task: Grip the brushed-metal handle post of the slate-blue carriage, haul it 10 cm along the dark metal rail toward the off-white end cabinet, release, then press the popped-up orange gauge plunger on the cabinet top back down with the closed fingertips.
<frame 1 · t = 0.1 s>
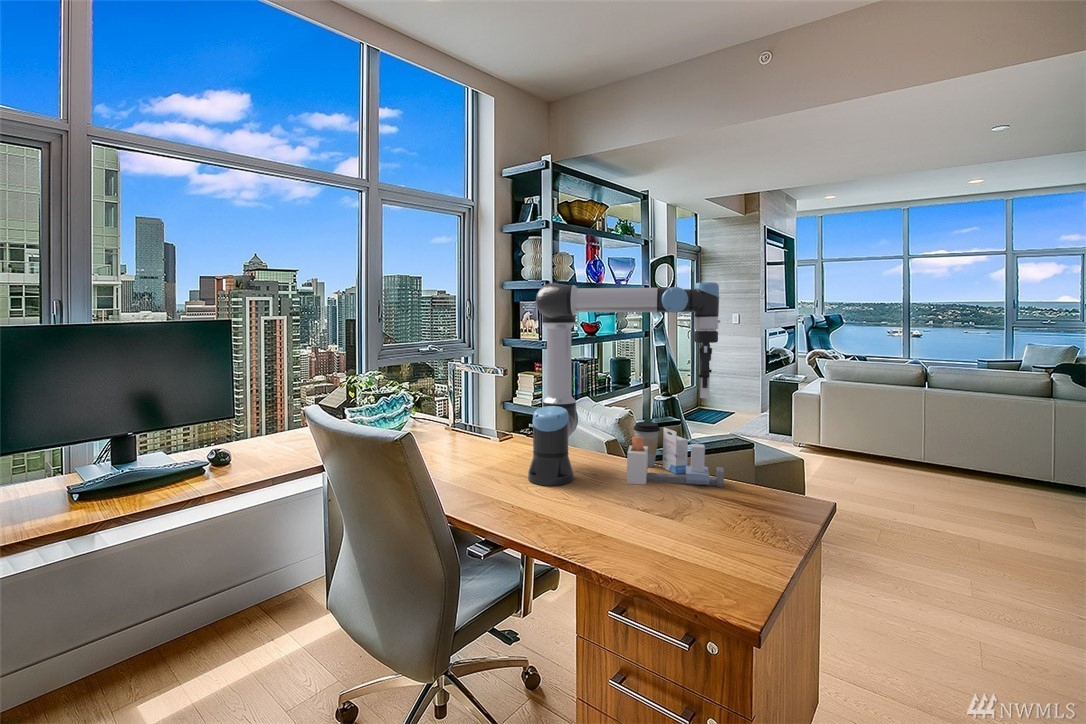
hand: (704, 394, 178), 28 cm above the table, fingers open, 13 cm apart
cabinet: (637, 479, 179), on the table
gauge plunger: (637, 443, 177), point 12 cm above the table, slide at 0.0 cm
coffee cup: (646, 465, 196), on the table
ink box: (674, 471, 188), on the table
carriage: (697, 463, 174), point 7 cm above the table, slide at 0.0 cm
rail: (681, 482, 175), on the table
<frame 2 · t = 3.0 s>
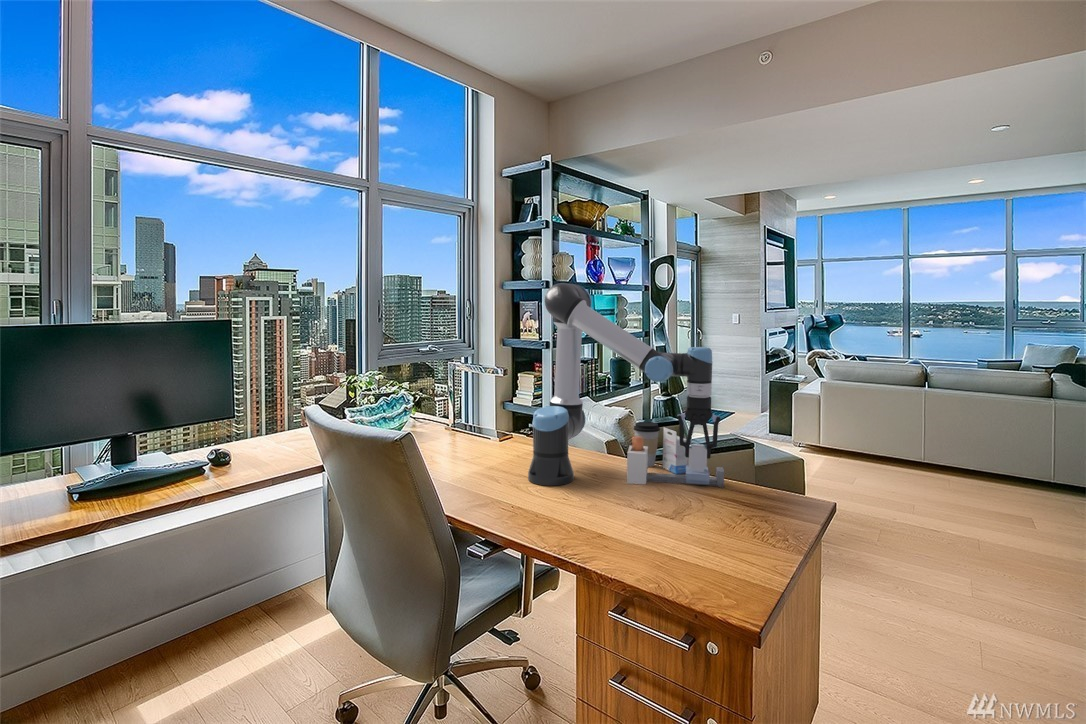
hand: (697, 467, 174), 5 cm above the table, fingers closed on carriage, 4 cm apart
carriage: (697, 463, 174), point 7 cm above the table, slide at 0.0 cm, touching gripper
everything else where it was.
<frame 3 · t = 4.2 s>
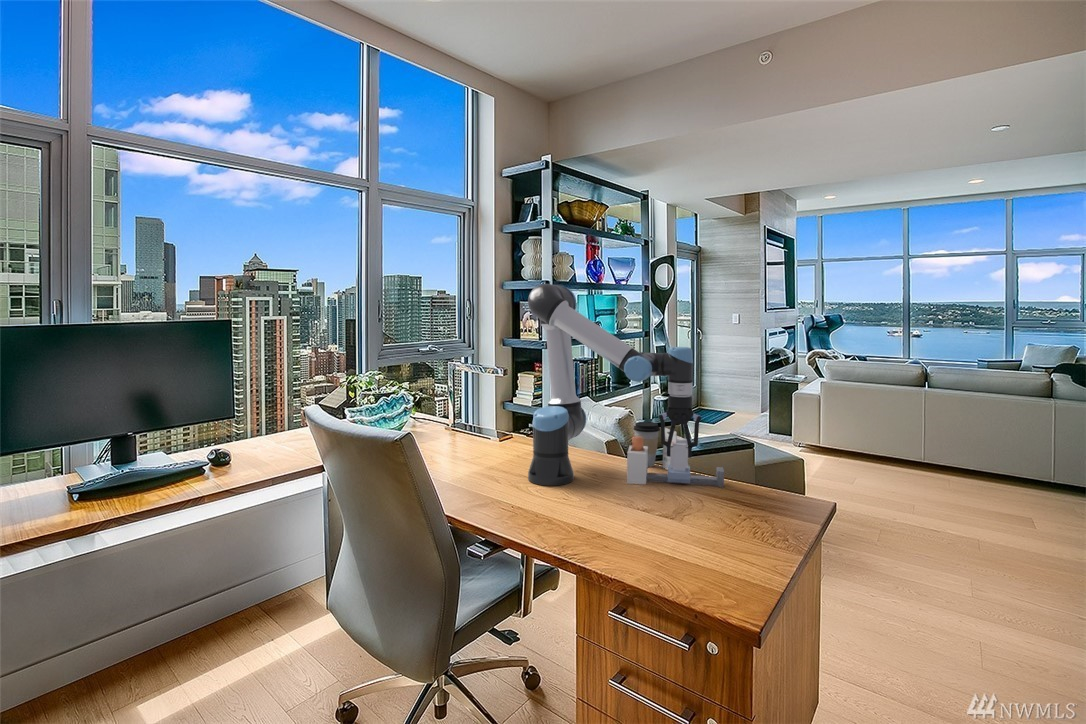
hand: (678, 466, 175), 5 cm above the table, fingers closed on carriage, 4 cm apart
carriage: (679, 462, 175), point 6 cm above the table, slide at 5.8 cm, touching gripper
everything else where it was.
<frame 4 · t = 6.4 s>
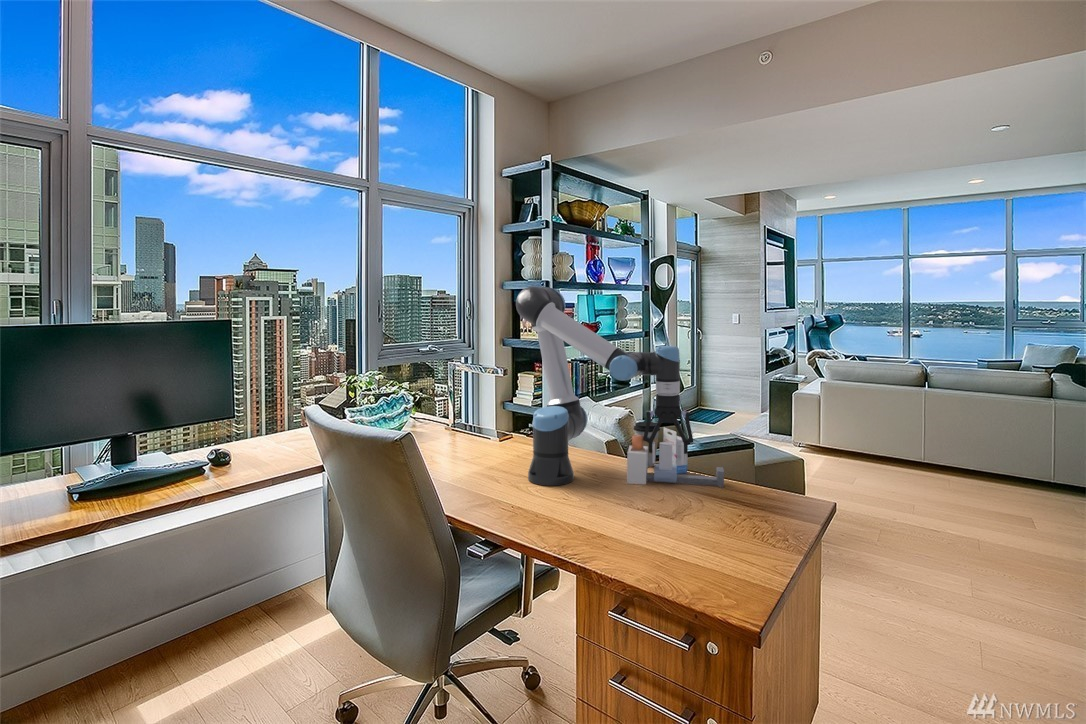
hand: (668, 462, 176), 6 cm above the table, fingers open, 8 cm apart
gauge plunger: (637, 442, 177), point 12 cm above the table, slide at -0.4 cm, touching gripper, hand
carriage: (665, 461, 176), point 7 cm above the table, slide at 10.0 cm
everything else where it was.
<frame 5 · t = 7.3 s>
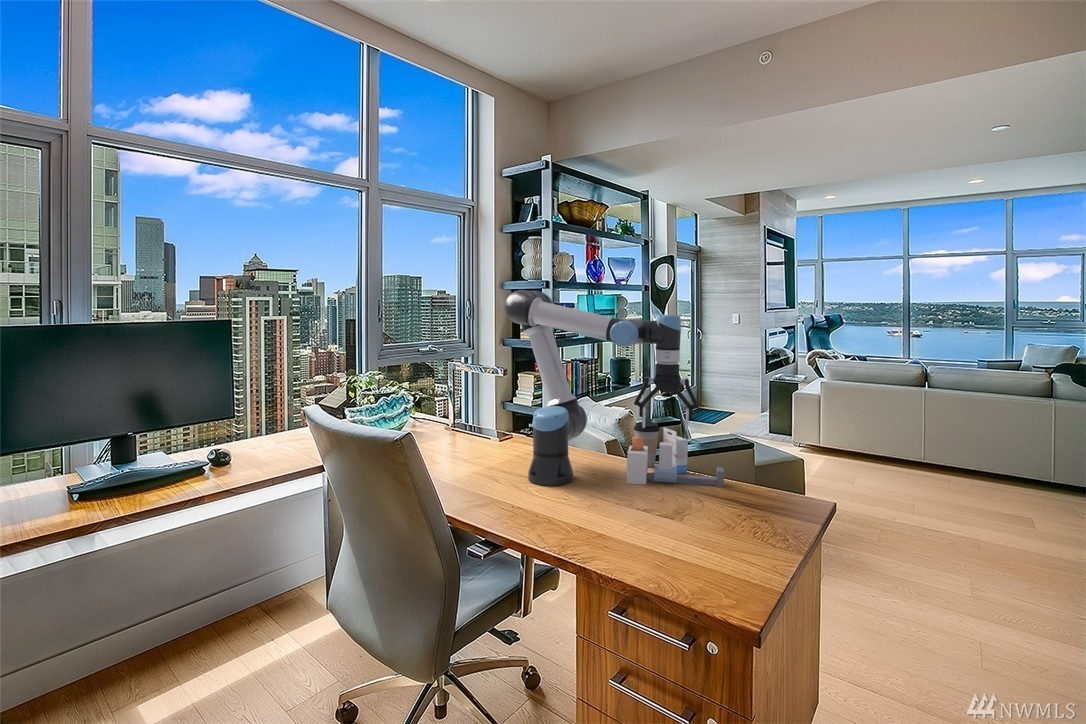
hand: (665, 428, 175), 17 cm above the table, fingers open, 13 cm apart
gauge plunger: (637, 443, 177), point 12 cm above the table, slide at -0.1 cm
everything else where it was.
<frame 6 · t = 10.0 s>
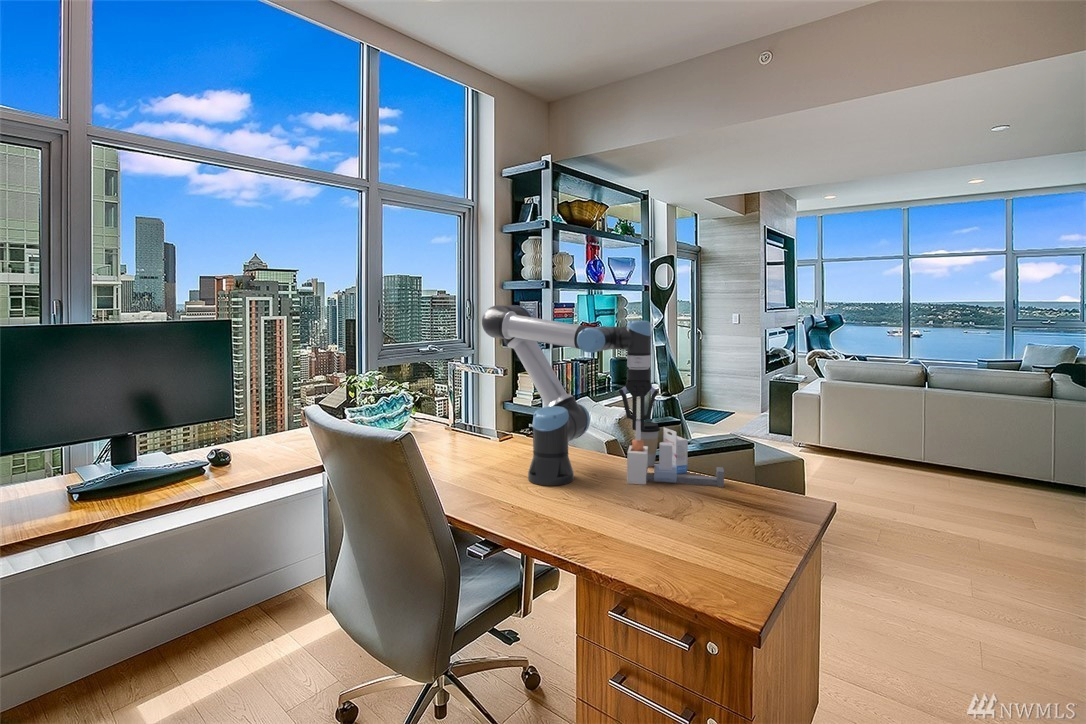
hand: (638, 439, 177), 13 cm above the table, fingers closed
gauge plunger: (637, 446, 178), point 11 cm above the table, slide at 0.9 cm, touching gripper
everything else where it was.
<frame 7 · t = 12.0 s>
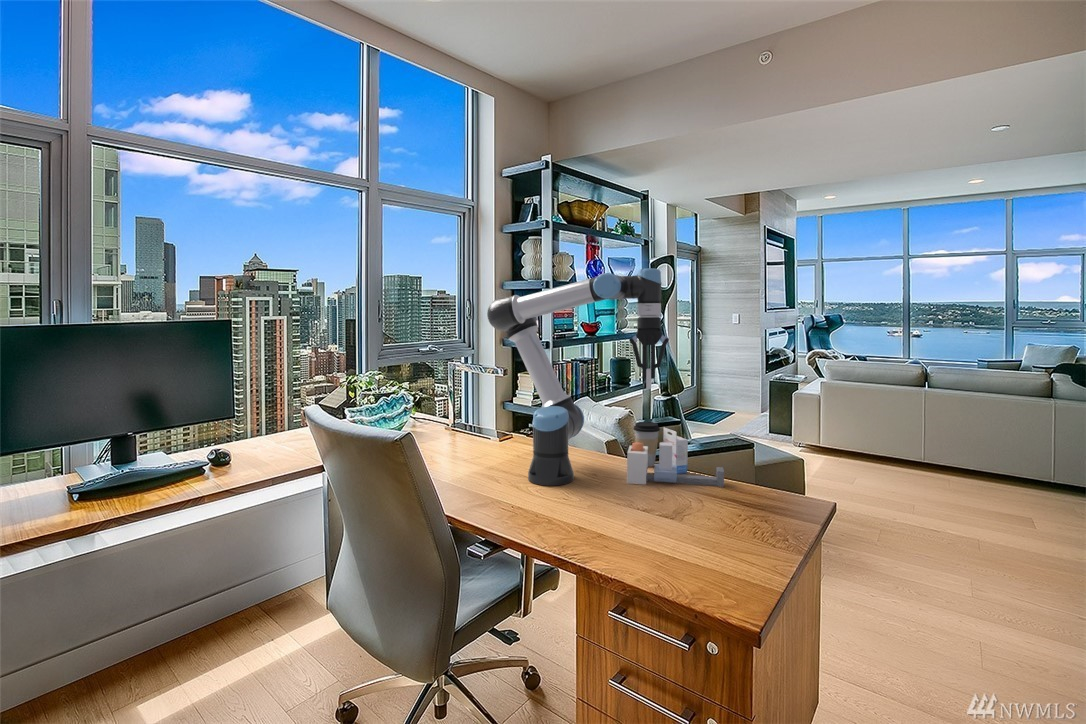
hand: (648, 388, 178), 30 cm above the table, fingers closed
gauge plunger: (637, 449, 178), point 10 cm above the table, slide at 2.0 cm
everything else where it was.
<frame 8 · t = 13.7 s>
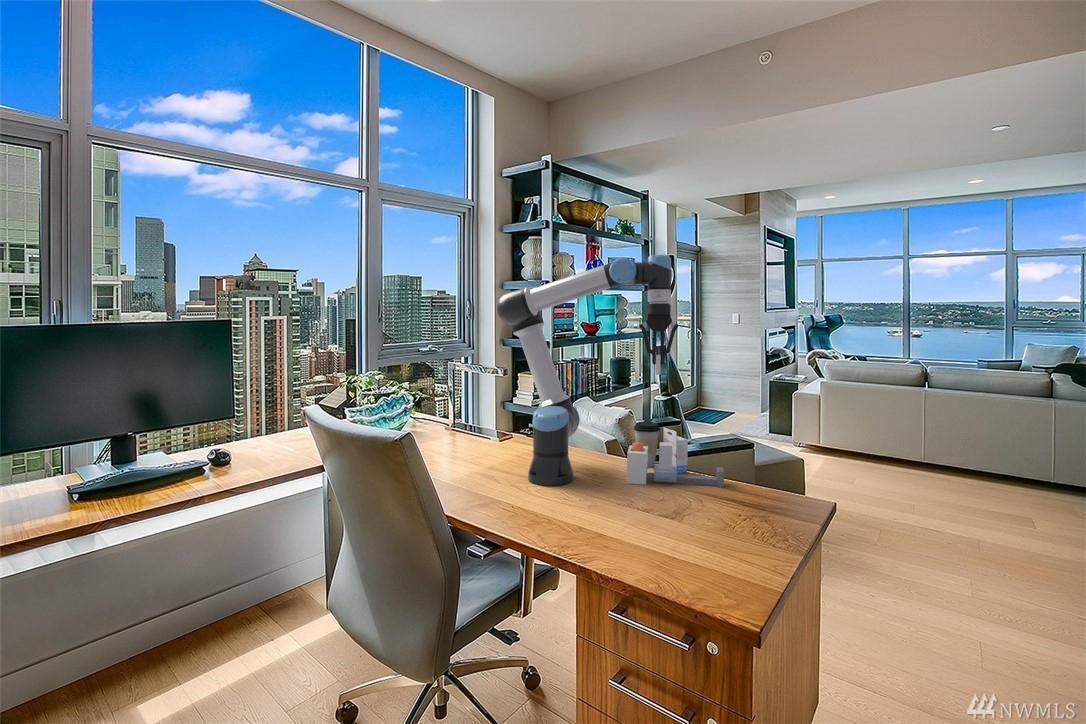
hand: (658, 374, 180), 34 cm above the table, fingers closed
nothing on the table moved.
at the end: carriage slide at 10.0 cm; gauge plunger slide at 2.0 cm; the gripper is holding nothing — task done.
